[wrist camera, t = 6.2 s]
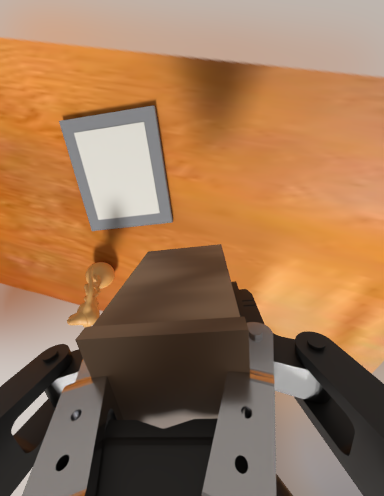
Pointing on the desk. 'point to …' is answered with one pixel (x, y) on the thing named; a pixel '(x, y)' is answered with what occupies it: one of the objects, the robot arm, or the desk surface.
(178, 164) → the desk surface
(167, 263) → the walnut box
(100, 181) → the mat
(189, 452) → the robot arm
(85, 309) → the figurine
